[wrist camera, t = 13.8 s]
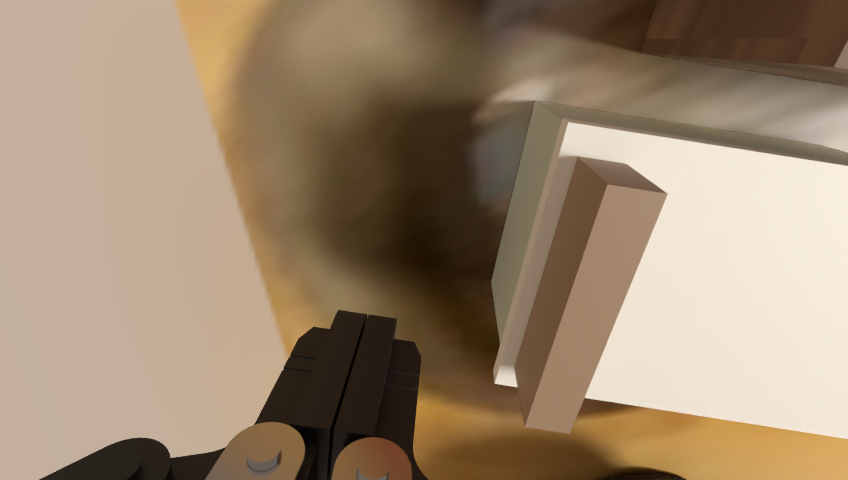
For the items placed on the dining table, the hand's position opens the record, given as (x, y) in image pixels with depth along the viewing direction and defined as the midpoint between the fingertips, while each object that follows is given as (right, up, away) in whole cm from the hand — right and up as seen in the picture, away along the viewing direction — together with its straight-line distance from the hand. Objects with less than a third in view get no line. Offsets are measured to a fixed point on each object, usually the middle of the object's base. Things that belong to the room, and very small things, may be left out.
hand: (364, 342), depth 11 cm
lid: (+13, +1, +6) cm, 14 cm away
